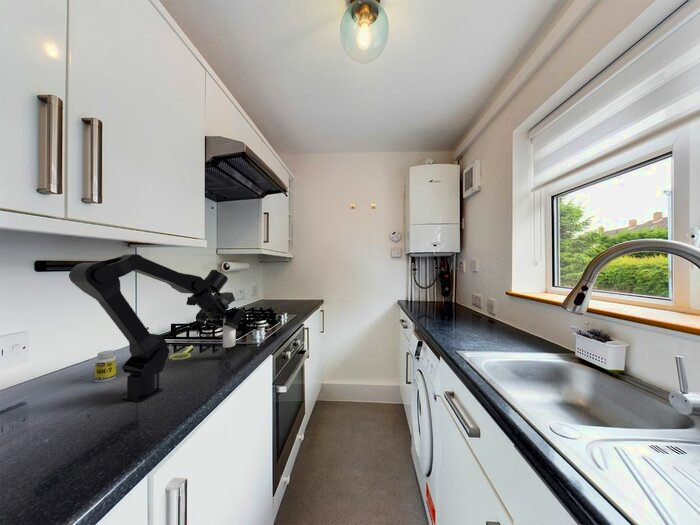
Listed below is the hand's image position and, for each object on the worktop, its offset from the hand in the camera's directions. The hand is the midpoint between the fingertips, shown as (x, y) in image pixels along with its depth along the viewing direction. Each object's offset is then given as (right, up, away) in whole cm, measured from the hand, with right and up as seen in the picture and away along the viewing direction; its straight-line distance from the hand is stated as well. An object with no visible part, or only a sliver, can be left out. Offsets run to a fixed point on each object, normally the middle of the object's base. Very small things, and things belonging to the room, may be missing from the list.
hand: (232, 327), depth 100 cm
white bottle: (0, -7, -1) cm, 7 cm away
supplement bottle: (-30, -11, -20) cm, 38 cm away
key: (-20, -12, +2) cm, 24 cm away
